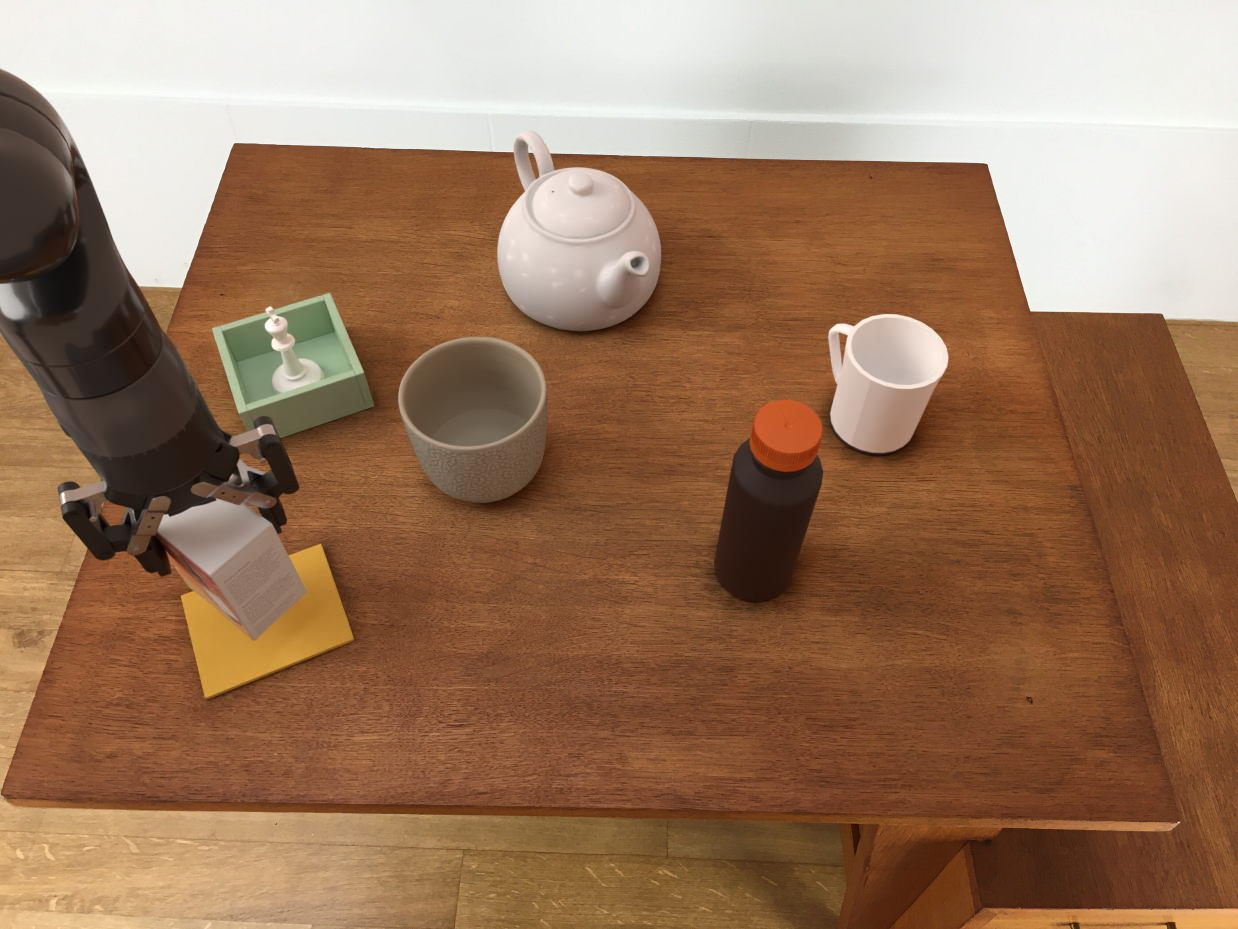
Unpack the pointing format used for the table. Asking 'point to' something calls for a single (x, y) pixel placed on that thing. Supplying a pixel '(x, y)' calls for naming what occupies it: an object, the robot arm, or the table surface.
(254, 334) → the sage bin
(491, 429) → the planter
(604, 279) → the teapot
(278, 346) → the chess piece
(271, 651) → the ochre mat
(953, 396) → the table surface
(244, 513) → the small box
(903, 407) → the mug
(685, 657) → the table surface
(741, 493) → the bottle
